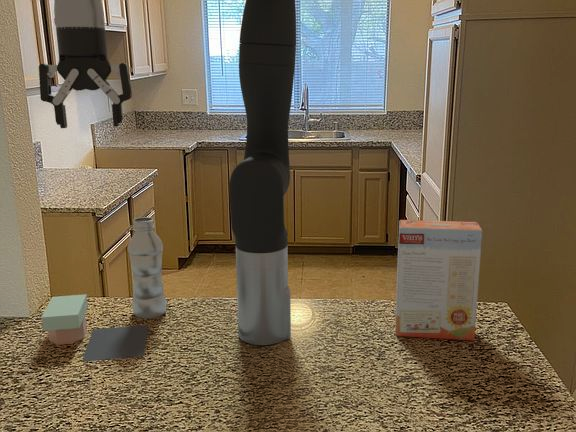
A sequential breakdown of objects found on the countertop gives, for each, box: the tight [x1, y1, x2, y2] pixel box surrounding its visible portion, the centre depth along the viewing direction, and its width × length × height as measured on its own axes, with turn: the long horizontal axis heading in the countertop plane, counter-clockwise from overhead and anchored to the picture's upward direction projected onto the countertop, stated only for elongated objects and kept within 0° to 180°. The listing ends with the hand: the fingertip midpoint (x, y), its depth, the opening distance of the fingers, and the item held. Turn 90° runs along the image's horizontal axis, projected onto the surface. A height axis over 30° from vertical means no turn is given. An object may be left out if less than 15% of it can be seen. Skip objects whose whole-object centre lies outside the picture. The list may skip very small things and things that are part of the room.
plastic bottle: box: [127, 216, 168, 320], centre depth 109 cm, size 6×7×20 cm
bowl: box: [47, 315, 88, 346], centre depth 102 cm, size 6×6×4 cm
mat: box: [81, 324, 149, 363], centre depth 100 cm, size 10×12×1 cm
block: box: [40, 293, 89, 332], centre depth 101 cm, size 6×9×2 cm, turn 10°
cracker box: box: [395, 219, 483, 342], centre depth 102 cm, size 14×6×21 cm, turn 80°
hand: (90, 127), depth 95 cm, fingers open, 8 cm apart
